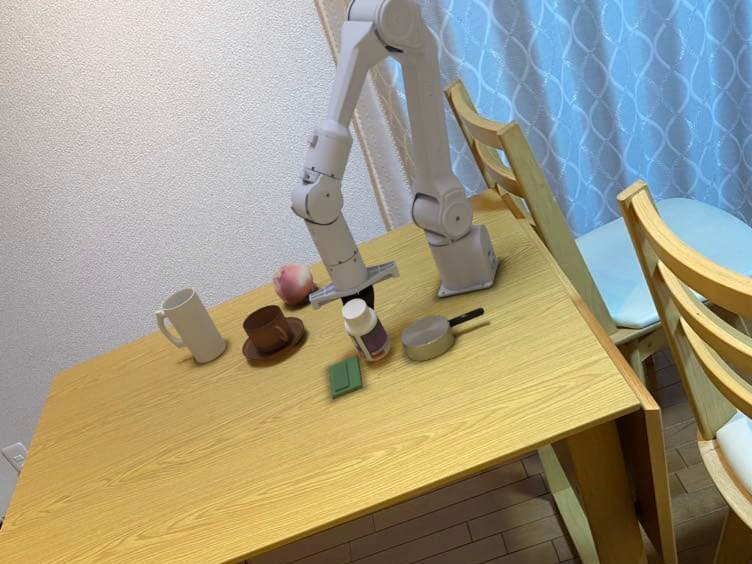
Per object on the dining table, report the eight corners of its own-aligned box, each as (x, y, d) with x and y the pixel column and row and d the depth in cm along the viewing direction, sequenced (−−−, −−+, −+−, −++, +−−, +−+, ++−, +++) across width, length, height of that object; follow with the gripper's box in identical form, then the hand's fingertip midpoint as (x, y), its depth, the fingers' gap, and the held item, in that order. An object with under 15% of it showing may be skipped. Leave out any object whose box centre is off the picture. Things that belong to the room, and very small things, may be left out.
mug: (231, 337, 162) (199, 283, 154) (222, 358, 157) (188, 303, 149) (186, 350, 165) (152, 297, 157) (176, 371, 161) (140, 318, 153)
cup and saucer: (319, 325, 153) (305, 295, 149) (284, 368, 147) (268, 338, 143) (270, 326, 159) (255, 297, 155) (235, 367, 153) (218, 339, 149)
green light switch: (358, 357, 140) (356, 353, 140) (362, 387, 134) (360, 382, 133) (330, 368, 141) (327, 364, 140) (333, 399, 134) (330, 394, 134)
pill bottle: (395, 334, 139) (373, 293, 131) (387, 361, 137) (365, 321, 128) (364, 336, 141) (342, 295, 133) (357, 363, 139) (333, 323, 131)
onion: (279, 301, 165) (262, 268, 161) (314, 281, 166) (298, 248, 161) (290, 316, 159) (272, 283, 155) (326, 295, 160) (309, 262, 155)
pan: (410, 367, 133) (403, 352, 131) (404, 341, 139) (398, 327, 137) (493, 334, 131) (487, 319, 129) (483, 309, 136) (478, 294, 135)
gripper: (382, 226, 133) (412, 300, 142) (296, 262, 135) (331, 333, 144) (386, 245, 127) (417, 321, 136) (297, 282, 130) (333, 354, 139)
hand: (373, 329), depth 140 cm, fingers closed, pressing on pill bottle
